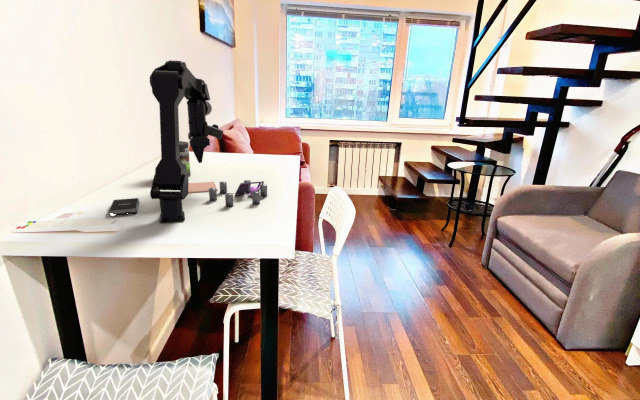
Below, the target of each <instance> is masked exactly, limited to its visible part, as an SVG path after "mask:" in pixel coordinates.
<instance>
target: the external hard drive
mask: <svg viewBox="0 0 640 400" xmlns="http://www.w3.org/2000/svg"><path fill="white" fill-rule="evenodd" d="M139 206H140V199H139V197H134V198H133V197H132V198H121V199H119V198H118V199H113V200H112V203H111V205H110V207H109V208H108V214H109V213H113V214H116V215H122V216H129V215H128V214H133V215H137V213H138V209H139ZM127 213H128V214H127Z"/></svg>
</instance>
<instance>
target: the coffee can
mask: <svg viewBox="0 0 640 400" xmlns="http://www.w3.org/2000/svg"><path fill="white" fill-rule="evenodd" d="M189 145H190V143H189V142H188V141H182V140H181V141H180V140H179V150H180V160H181V161H182V163H183V164H185V165H186V167H187V175H188V179H189V178H190V177H191V176H192V174H191V164H190V160H191V159H190V149H189V148H190V146H189Z"/></svg>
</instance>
